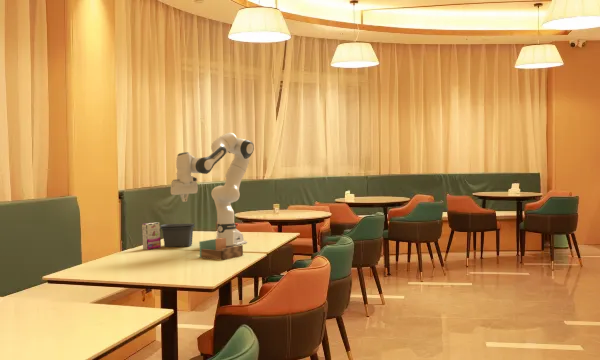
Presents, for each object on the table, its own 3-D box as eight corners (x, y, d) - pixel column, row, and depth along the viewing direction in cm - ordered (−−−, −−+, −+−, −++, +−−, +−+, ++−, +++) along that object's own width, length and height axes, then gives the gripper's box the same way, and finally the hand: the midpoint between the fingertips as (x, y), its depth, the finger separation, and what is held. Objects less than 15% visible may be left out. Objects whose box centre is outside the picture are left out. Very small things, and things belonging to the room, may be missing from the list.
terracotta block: (221, 253, 381) (220, 237, 380) (226, 253, 378) (225, 238, 378) (215, 254, 377) (215, 238, 377) (221, 254, 375) (220, 239, 374)
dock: (222, 253, 389) (221, 243, 389) (242, 255, 380) (242, 245, 380) (201, 257, 374) (201, 247, 374) (222, 259, 365) (222, 249, 365)
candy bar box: (156, 247, 423) (155, 222, 423) (161, 247, 420) (160, 222, 420) (142, 249, 414) (141, 223, 414) (147, 250, 411) (146, 224, 411)
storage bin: (159, 247, 422) (158, 225, 422) (166, 244, 437) (165, 223, 437) (191, 247, 420) (190, 225, 419) (197, 244, 435) (196, 222, 435)
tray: (219, 253, 390) (218, 238, 389) (240, 255, 381) (239, 239, 380) (199, 257, 376) (199, 241, 375) (221, 259, 366) (220, 243, 366)
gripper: (175, 179, 386) (176, 202, 386) (199, 178, 403) (199, 200, 403) (167, 179, 389) (168, 202, 390) (191, 178, 406) (192, 200, 407)
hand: (184, 201), depth 396 cm, fingers closed
